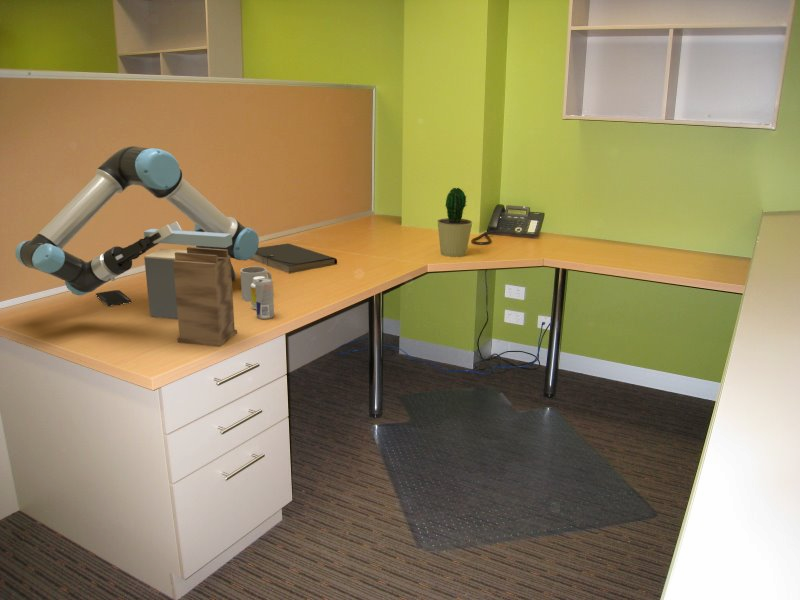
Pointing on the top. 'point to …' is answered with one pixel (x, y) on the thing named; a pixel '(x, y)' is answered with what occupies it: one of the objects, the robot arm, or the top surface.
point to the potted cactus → (454, 226)
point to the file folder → (292, 258)
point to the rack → (204, 296)
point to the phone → (113, 297)
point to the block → (161, 283)
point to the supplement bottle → (254, 291)
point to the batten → (195, 238)
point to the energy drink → (264, 298)
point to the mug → (251, 279)
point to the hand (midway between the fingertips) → (174, 227)
